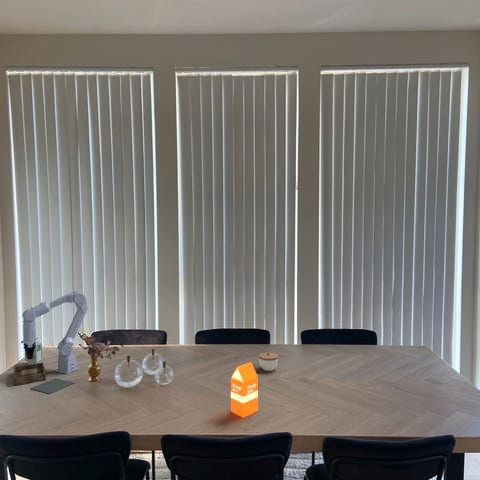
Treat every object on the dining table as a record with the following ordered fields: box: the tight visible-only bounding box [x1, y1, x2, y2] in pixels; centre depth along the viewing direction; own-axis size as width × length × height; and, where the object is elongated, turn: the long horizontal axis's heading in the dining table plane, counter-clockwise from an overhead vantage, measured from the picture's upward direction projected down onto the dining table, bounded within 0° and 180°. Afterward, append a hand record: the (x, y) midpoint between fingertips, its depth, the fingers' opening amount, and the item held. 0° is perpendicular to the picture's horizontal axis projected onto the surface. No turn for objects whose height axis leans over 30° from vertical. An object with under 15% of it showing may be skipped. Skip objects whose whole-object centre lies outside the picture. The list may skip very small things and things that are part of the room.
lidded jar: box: [258, 351, 279, 372], centre depth 209 cm, size 11×11×9 cm
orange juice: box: [230, 361, 259, 419], centre depth 160 cm, size 8×9×20 cm
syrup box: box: [26, 337, 43, 365], centre depth 221 cm, size 6×6×14 cm
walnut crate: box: [13, 361, 47, 387], centre depth 201 cm, size 14×20×4 cm
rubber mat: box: [30, 377, 75, 395], centre depth 188 cm, size 14×14×1 cm
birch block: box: [24, 350, 35, 362], centre depth 200 cm, size 4×4×5 cm
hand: (29, 357), depth 200 cm, fingers closed on birch block, 4 cm apart
